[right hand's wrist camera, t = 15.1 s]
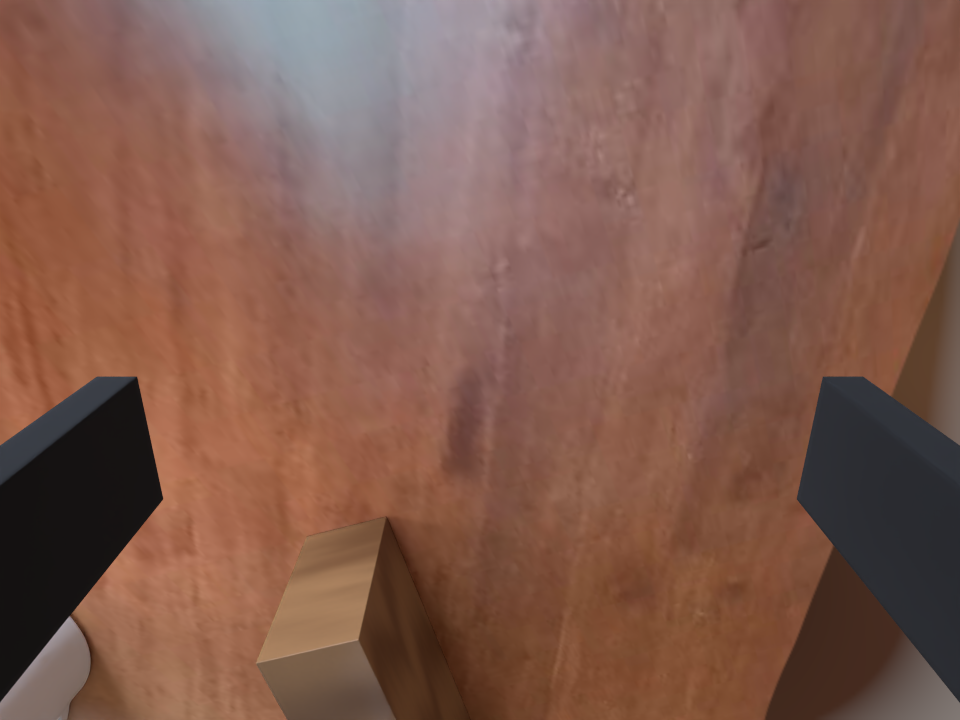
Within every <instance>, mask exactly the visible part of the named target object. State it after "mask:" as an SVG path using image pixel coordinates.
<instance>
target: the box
mask: <svg viewBox="0 0 960 720" xmlns="http://www.w3.org/2000/svg"><path fill="white" fill-rule="evenodd" d="M256 664H257V666H258V668H259V670H260V672H261V673H262V675H263V677H264V679H265V681H266V682H267V684H268V686H269V688H270V689H271V691H272V693H273V695H274V697H275V698H276V700H277V702H278V704H279V706H280V707H281V709H282V711H283V713H284V715H285V716H286V718H287V720H470V718H469V715H468V713H467V710H466V708H465V705H464V703H463V701H462V698H461V696H460V693H459V691H458V689H457V686H456V684H455V681H454V679H453V676H452V674H451V672H450V669H449V667H448V664H447V662H446V660H445V657H444V655H443V652H442V650H441V647H440V645H439V643H438V640H437V638H436V635H435V633H434V631H433V628H432V626H431V623H430V621H429V618H428V616H427V614H426V611H425V609H424V606H423V604H422V602H421V599H420V597H419V594H418V592H417V589H416V587H415V585H414V582H413V580H412V577H411V575H410V573H409V570H408V568H407V565H406V563H405V560H404V558H403V556H402V553H401V551H400V548H399V546H398V544H397V541H396V539H395V536H394V534H393V531H392V529H391V527H390V524H389V522H388V519H387V517H383V518H379V519H375V520H371V521H367V522H363V523H359V524H355V525H351V526H347V527H343V528H339V529H335V530H331V531H327V532H323V533H319V534H315V535H311V536H307V537H306V540H305V542H304V545H303V547H302V550H301V552H300V555H299V557H298V560H297V562H296V565H295V567H294V570H293V572H292V575H291V577H290V580H289V582H288V585H287V587H286V590H285V592H284V595H283V597H282V600H281V602H280V604H279V607H278V609H277V612H276V614H275V617H274V619H273V622H272V624H271V627H270V629H269V632H268V634H267V637H266V639H265V642H264V644H263V647H262V649H261V652H260V654H259V657H258V659H257V662H256Z"/></svg>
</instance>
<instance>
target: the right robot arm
mask: <svg viewBox="0 0 960 720" xmlns="http://www.w3.org/2000/svg"><path fill="white" fill-rule="evenodd" d="M162 500H163V496H162V491H161V487H160V482H159V477H158V473H157V468H156V463H155V458H154V454H153V449H152V444H151V440H150V435H149V430H148V426H147V421H146V416H145V412H144V407H143V402H142V398H141V393H140V388H139V384H138V379H137V377H96V378H95V379H93V380H92V381H90V382H89V383H87V384H86V385H85V386H83V387H82V388H80V389H79V390H78V391H76V392H75V393H73V394H72V395H71V396H69V397H68V398H66V399H65V400H64V401H62V402H61V403H59V404H58V405H57V406H55V407H54V408H52V409H51V410H50V411H48V412H47V413H45V414H44V415H43V416H41V417H40V418H38V419H37V420H36V421H34V422H33V423H31V424H30V425H29V426H27V427H26V428H24V429H23V430H22V431H20V432H19V433H17V434H16V435H14V436H13V437H12V438H10V439H9V440H7V441H6V442H5V443H3V444H2V445H0V702H1V701H2V700H3V698H4V697H5V696H6V695H7V693H8V692H9V691H10V690H11V688H12V687H13V686H14V685H15V683H16V682H17V681H18V680H19V678H20V677H21V676H22V675H23V673H24V672H25V671H26V670H27V668H28V667H29V666H30V665H31V663H32V662H33V661H34V660H35V658H36V657H37V656H38V655H39V653H40V652H41V651H42V650H43V648H44V647H45V646H46V645H47V643H48V642H49V641H50V640H51V638H52V637H53V636H54V635H55V633H56V632H57V631H58V630H59V629H60V627H61V626H62V625H63V624H64V622H65V621H66V620H67V619H68V617H69V616H70V615H71V614H72V612H73V611H74V610H75V609H76V607H77V606H78V605H79V604H80V602H81V601H82V600H83V599H84V597H85V596H86V595H87V594H88V592H89V591H90V590H91V589H92V587H93V586H94V585H95V584H96V582H97V581H98V580H99V579H100V577H101V576H102V575H103V574H104V572H105V571H106V570H107V569H108V567H109V566H110V565H111V564H112V562H113V561H114V560H115V559H116V557H117V556H118V555H119V554H120V552H121V551H122V550H123V549H124V547H125V546H126V545H127V544H128V542H129V541H130V540H131V539H132V537H133V536H134V535H135V534H136V532H137V531H138V530H139V529H140V527H141V526H142V525H143V524H144V522H145V521H146V520H147V519H148V517H149V516H150V515H151V514H152V512H153V511H154V510H155V509H156V507H157V506H158V505H159V504H160V503H161V501H162ZM797 500H798V501H799V503H800V504H801V505H802V506H803V507H804V509H805V510H806V511H807V512H808V514H809V515H810V516H811V517H812V519H813V520H814V521H815V522H816V524H817V525H818V526H819V527H820V529H821V530H822V531H823V532H824V534H825V535H826V536H827V537H828V539H829V540H830V541H831V542H832V544H833V545H834V546H835V547H836V549H837V550H838V551H839V552H840V554H841V555H842V556H843V557H844V559H845V560H846V561H847V562H848V564H849V565H850V566H851V567H852V569H853V570H854V571H855V572H856V574H857V575H858V576H859V577H860V579H861V580H862V581H863V582H864V584H865V585H866V586H867V587H868V589H869V590H870V591H871V592H872V594H873V595H874V596H875V597H876V598H877V600H878V601H879V602H880V604H881V605H882V606H883V607H884V609H885V610H886V611H887V612H888V614H889V615H890V616H891V617H892V619H893V620H894V621H895V622H896V624H897V625H898V626H899V627H900V628H901V630H902V631H903V632H904V633H905V635H906V636H907V637H908V638H909V640H910V641H911V642H912V643H913V645H914V646H915V647H916V648H917V650H918V651H919V652H920V653H921V655H922V656H923V657H924V658H925V660H926V661H927V662H928V663H929V665H930V666H931V667H932V668H933V670H934V671H935V672H936V673H937V675H938V676H939V677H940V678H941V680H942V681H943V682H944V683H945V685H946V686H947V687H948V688H949V690H950V691H951V692H952V693H953V695H954V696H955V697H956V698H957V700H958V701H959V702H960V446H959V445H958V444H957V443H955V442H954V441H953V440H951V439H950V438H948V437H947V436H946V435H944V434H943V433H941V432H940V431H938V430H937V429H936V428H934V427H933V426H931V425H930V424H929V423H927V422H926V421H924V420H923V419H922V418H920V417H919V416H917V415H916V414H915V413H913V412H912V411H910V410H909V409H908V408H906V407H905V406H903V405H902V404H901V403H899V402H898V401H896V400H895V399H894V398H892V397H891V396H889V395H888V394H887V393H885V392H884V391H882V390H881V389H880V388H878V387H877V386H875V385H874V384H873V383H871V382H870V381H868V380H867V379H865V378H864V377H823V379H822V384H821V388H820V393H819V398H818V402H817V407H816V412H815V416H814V421H813V426H812V430H811V435H810V440H809V444H808V449H807V454H806V458H805V463H804V468H803V472H802V477H801V482H800V487H799V491H798V496H797Z"/></svg>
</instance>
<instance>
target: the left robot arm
mask: <svg viewBox="0 0 960 720" xmlns="http://www.w3.org/2000/svg"><path fill="white" fill-rule="evenodd" d="M90 666H91V657H90V651H89V647H88V644H87V642H86V639H85V637H84V635H83V633H82V632H81V630H80V628H79V627H78V626H77V624H76V623H75V622H74V620H73V619H72V618H71V617H70V616H69V617H68V619H67V620H66V621H65V622H64V624H63V625H62V626H61V627H60V629H59V630H58V631H57V632H56V633H55V635H54V636H53V637H52V638H51V640H50V641H49V642H48V643H47V645H46V646H45V647H44V648H43V650H42V651H41V652H40V653H39V655H38V656H37V657H36V658H35V660H34V661H33V662H32V663H31V665H30V666H29V667H28V668H27V670H26V671H25V672H24V673H23V675H22V676H21V677H20V678H19V680H18V681H17V682H16V683H15V685H14V686H13V687H12V688H11V690H10V691H9V692H8V693H7V695H6V696H5V697H4V698H3V700H2V701H1V702H0V720H67V719H68V714H69V706H70V702H71V700H72V699H73V698H74V697H75V696H76V694H77V693H78V692H79V691H80V690H81V689H82V687H83V686H84V684H85V683H86V681H87V679H88V676H89V673H90Z"/></svg>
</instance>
